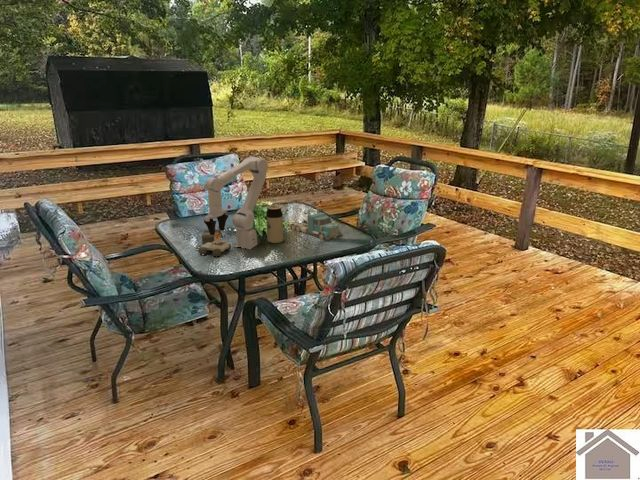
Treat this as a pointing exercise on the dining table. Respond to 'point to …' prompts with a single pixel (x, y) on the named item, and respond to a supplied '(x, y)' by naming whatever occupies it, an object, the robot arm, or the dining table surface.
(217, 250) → the trolley
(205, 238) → the stone block
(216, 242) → the canister with orange lid
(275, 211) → the travel mug
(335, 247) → the dining table surface
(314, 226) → the truck
